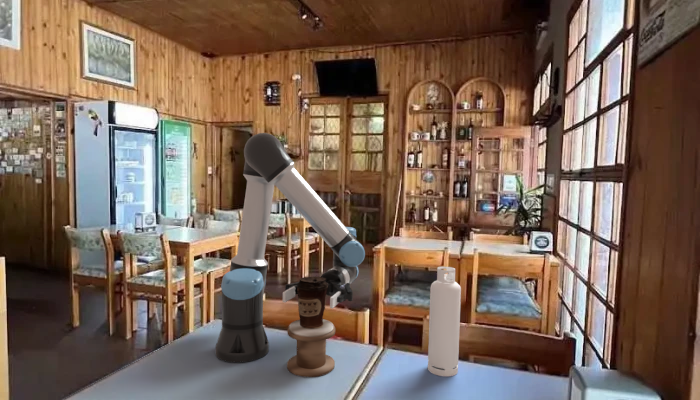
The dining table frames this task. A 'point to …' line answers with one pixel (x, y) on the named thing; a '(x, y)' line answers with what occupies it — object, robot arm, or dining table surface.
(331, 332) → the cup pedestal
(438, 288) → the bottle
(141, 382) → the dining table surface
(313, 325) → the coffee cup
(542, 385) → the dining table surface
